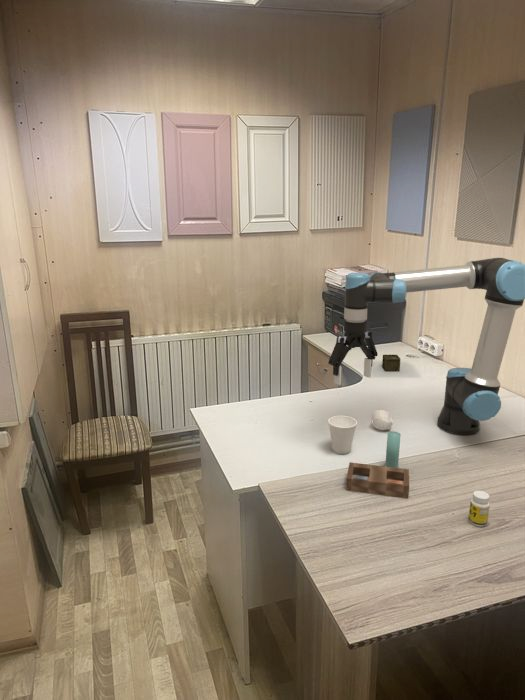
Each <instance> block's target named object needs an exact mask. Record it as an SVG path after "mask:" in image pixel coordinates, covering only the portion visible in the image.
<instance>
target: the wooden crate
mask: <svg viewBox="0 0 525 700" xmlns="http://www.w3.org/2000/svg"><path fill="white" fill-rule="evenodd" d="M381 368H382V369H383V371H384V372H385V373H388V372H390V373H391V372H392V373H393V372H396V373H397V372H398V373H399V372H400V371H401V369H400V368H401V358H400V357H399V355H398V354H382V365H381Z"/></svg>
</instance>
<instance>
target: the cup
mask: <svg viewBox="0 0 525 700" xmlns="http://www.w3.org/2000/svg"><path fill="white" fill-rule="evenodd" d="M327 422H328V427H329V432H330V441H331V447H332V449H331V450H332V451H333V452H334V453H335V454H338V455H346V454H349V453H351V449H352V445H353V441H354V437H355V433H356V428H357V425H358V421H357V420H356V419H355V418H354V417H351V416H348V415H334V416H331V417H329V418H328V420H327Z"/></svg>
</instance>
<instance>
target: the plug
mask: <svg viewBox="0 0 525 700" xmlns="http://www.w3.org/2000/svg"><path fill="white" fill-rule="evenodd" d="M386 437H387V438H386V451H385V452H386V453H385V464H384V466H385V467H394V468H399V458H400V444H401V437H402V435H401V433H400V432H398V431H394V430H393V431H391V430H390V431H388V432H387V436H386Z"/></svg>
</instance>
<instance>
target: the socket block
mask: <svg viewBox="0 0 525 700" xmlns="http://www.w3.org/2000/svg"><path fill="white" fill-rule="evenodd" d="M345 482H346V483H345V491H348V492H349V491H351V492H356V493H366V494H371V495H379V496H387V497H395V498H402V499H409V493H410V470H409V469H408V468H400V467H398V468H394V467H385V465H384V466H383V465H377V464H367V463H357V462H353V461H352V462H351V461H349V464H348V469H347V473H346V480H345Z"/></svg>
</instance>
